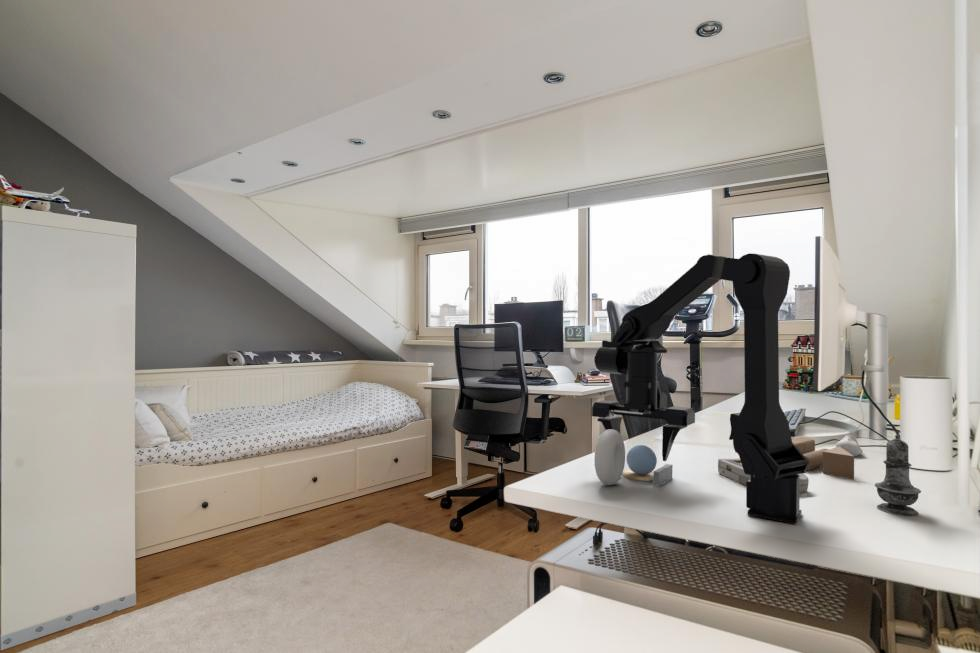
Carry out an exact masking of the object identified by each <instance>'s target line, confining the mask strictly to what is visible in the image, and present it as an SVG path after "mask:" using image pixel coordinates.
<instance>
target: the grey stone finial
mask: <svg viewBox="0 0 980 653" xmlns="http://www.w3.org/2000/svg"><path fill="white" fill-rule="evenodd" d="M894 437H895V438H893V439H891V440H888V441H887V442H886V445H885V446H886V450H885V452H886V453H885V455H886V459H885V460H883V463H884V464H885V476H884V479H883V480H882V481H880V482H876V483H874V487H875V488H876V492H877V495H878V496H879V498H880V499H881V500H883V502H881V503H880V504H878V505H876V509H877V510H880V511H882V512H885V513H888V514H892V515H898V516H904V517H916V516H918V515H920V514H919V511H918V510H916V509H915V508H913V507H911V505H913V504H915V503H916V502H917V501H918V499H919V494H921V493H922V490H921V489H920V488H918V487H915V486H914V485H913V484H912V483H911V482H912V481H911V480H910V467H912V464H911V463H910V462H909V445H908V443H907V442H905V441H903V440H902V439H900V435H899V434H898V433H897V434H895V436H894Z"/></svg>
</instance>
